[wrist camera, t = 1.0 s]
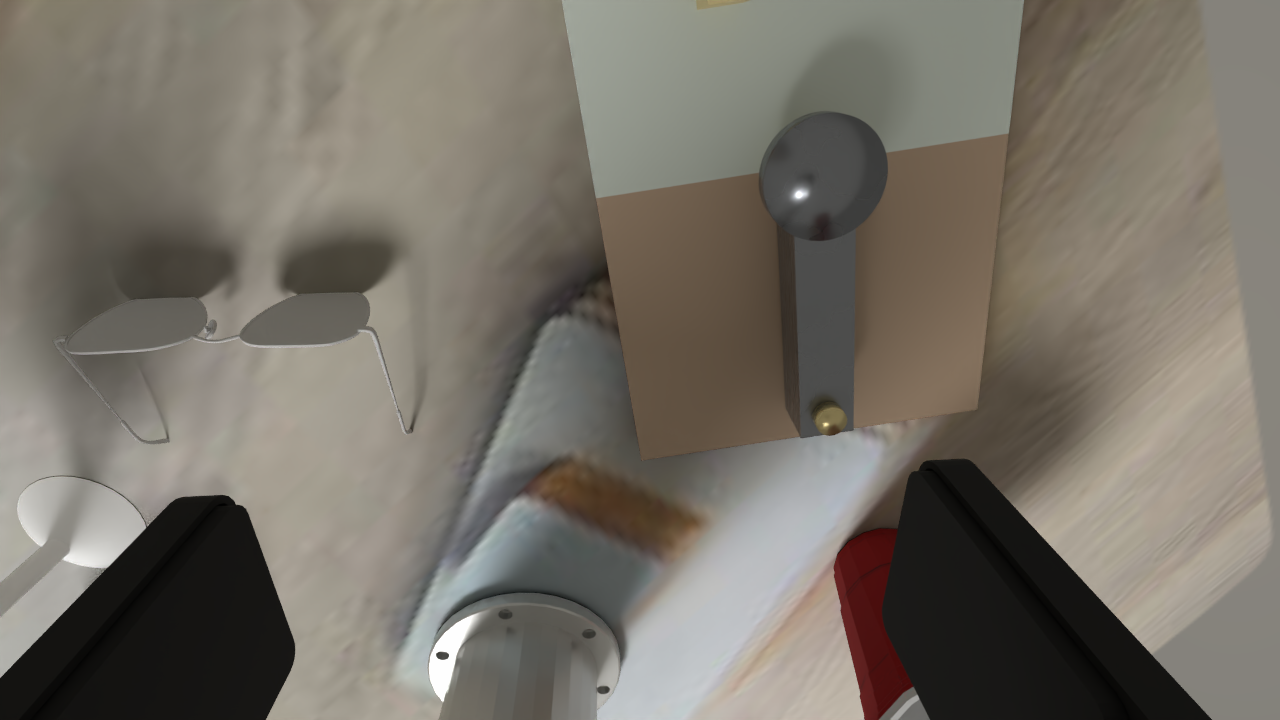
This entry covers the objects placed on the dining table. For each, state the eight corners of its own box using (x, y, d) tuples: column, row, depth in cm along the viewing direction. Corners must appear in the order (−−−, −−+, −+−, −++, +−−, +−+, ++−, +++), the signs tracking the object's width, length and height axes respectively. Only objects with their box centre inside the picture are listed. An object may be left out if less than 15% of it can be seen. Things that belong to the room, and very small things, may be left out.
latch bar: (856, 397, 32) (883, 434, 29) (763, 411, 32) (780, 450, 29) (859, 98, 26) (896, 104, 23) (744, 116, 26) (764, 125, 23)
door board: (957, 391, 35) (1008, 439, 31) (639, 439, 35) (644, 493, 31) (1022, -280, 23) (1122, -359, 18) (530, -198, 23) (513, -256, 18)
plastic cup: (954, 610, 43) (1072, 798, 32) (797, 630, 43) (862, 824, 32) (974, 483, 38) (1122, 653, 27) (797, 505, 38) (874, 684, 27)
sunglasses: (395, 286, 31) (364, 342, 27) (429, 415, 36) (407, 479, 32) (104, 294, 30) (28, 353, 26) (179, 425, 35) (124, 491, 31)
